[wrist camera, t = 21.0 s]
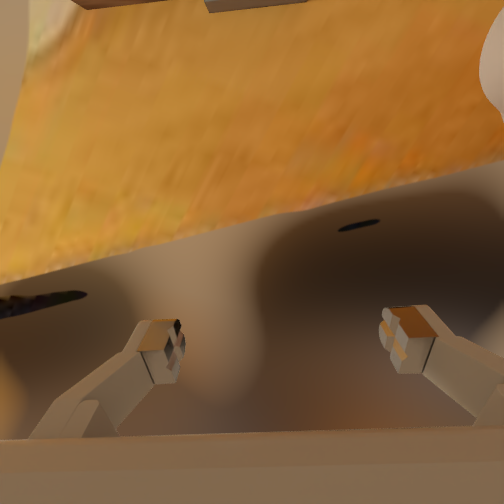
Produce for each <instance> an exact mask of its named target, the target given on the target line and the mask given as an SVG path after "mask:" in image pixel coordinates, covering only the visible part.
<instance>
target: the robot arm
mask: <svg viewBox="0 0 504 504" xmlns="http://www.w3.org/2000/svg"><path fill="white" fill-rule="evenodd" d="M479 75H480V82H481V86H482V89H483V91H484V93H485V95H486V97H487V98H488V100H489V101H490V102H491V103H492V104H493V105H494V106H495V107H496V108H497V109H498V110H499V111H500V113H501V115H502V119H503V122H504V7H503V9H502V10H501V11H500V13H499V14H498V16H497V18H496V19H495V21H494V23H493V25H492V26H491V28H490V31H489V33H488V35H487V37H486V40H485V43H484V46H483V49H482V53H481V58H480V67H479ZM382 317H383V318H384V321H383V322H382V323H381V324H380V327H379V335H380V339H381V343H382V344H383V346H384V348H385V349H386V350H388V351H390V352H391V355H390V359H391V361H392V363H393V365H394V367H395V368H396V370H397V372H398V373H399V374H403V373H404V374H405V373H423V375H424V376H425V377H426V378H428V379H429V380H430V381H431V382H432V383H434V384H435V385H436V386H437V387H439V388H440V389H441V390H442V391H444V392H445V393H446V394H447V395H449V396H450V397H451V398H452V399H454V400H455V401H456V402H457V403H458V404H460V405H461V406H462V407H463V408H465V409H466V410H467V411H468V412H470V413H471V414H472V415H473V416H475V417H476V418H477V419H476V421H475V423H474V424H473V426H449V427H417V428H388V429H387V428H386V429H354V430H324V431H323V430H322V431H292V432H291V431H290V432H289V431H288V432H256V433H227V434H226V433H224V434H192V435H158V436H125V437H121V436H120V435H119V433H118V432H117V430H116V428H117V427H118V426H119V425H120V424H121V422H122V421H123V420H124V419H125V418H126V417H127V416H128V415H129V413H130V412H131V411H132V410H133V409H134V408H135V407H136V405H137V404H138V403H139V402H140V401H141V400H142V399H143V397H144V396H145V395H146V394H147V393H148V392H149V391H150V390H151V388H152V387H153V386H154V384H166V383H176V380H177V376H178V373H179V370H180V365H179V361H180V360H181V359H182V358H183V356H184V353H185V345H186V343H185V337H184V334H183V333H182V332H181V331H180V329H181V324H180V320H178V319H162V320H142V321H140V322H139V323H138V325H137V327H136V329H135V330H134V332H133V334H132V336H131V337H130V339H129V341H128V343H127V344H126V346H125V348H124V350H123V352H122V353H117V354H116V355H115V356H113V357H112V358H111V359H109V360H108V361H107V362H105V363H104V364H103V365H102V366H100V367H98V368H97V369H96V370H95V371H93V372H92V373H90V374H89V375H88V376H87V377H85V378H84V379H82V380H81V381H80V382H78V383H77V384H76V385H74V386H73V387H72V388H70V389H69V390H68V391H66V392H65V393H64V394H62V395H61V396H60V397H58V398H57V399H55V401H54V402H53V403H52V405H51V406H50V408H49V409H48V410H47V412H46V413H45V415H44V417H43V418H42V419H41V420H40V422H39V423H38V425H37V426H36V428H35V429H34V431H33V432H32V433H31V435H30V436H29V438H28V439H27V440H26V439H24V440H0V504H504V358H502V357H500V356H498V355H496V354H494V353H492V352H490V351H488V350H486V349H484V348H482V347H480V346H478V345H476V344H474V343H472V342H470V341H469V340H467V339H465V338H463V337H461V336H458V337H457V336H455V335H454V334H453V333H452V332H451V330H450V329H449V328H448V327H447V326H446V325H445V324H444V323H443V322H442V321H441V319H440V318H439V317H438V316H437V315H436V314H435V313H434V312H433V311H432V309H431V308H430V307H429V306H427V305H415V306H402V307H386V308H384V310H383V312H382Z"/></svg>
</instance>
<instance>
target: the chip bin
mask: <svg viewBox="0 0 504 504" xmlns="http://www.w3.org/2000/svg"><path fill="white" fill-rule="evenodd" d="M204 2H205V4H206V7H207V9H208V11H209V13H215V12H224V11H233V10H241V9H250V8H259V7H267V6H276V5H285V4H293V3H302V2H307V0H204Z"/></svg>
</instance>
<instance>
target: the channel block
mask: <svg viewBox="0 0 504 504" xmlns="http://www.w3.org/2000/svg"><path fill="white" fill-rule="evenodd" d="M71 1H73V2H75V3H76V4H78V5H80V6H81V7H83V8H85V9H86V10H90V9H98V8H107V7H115V6H123V5H132V4H140V3H149V2H157V1H165V0H71Z"/></svg>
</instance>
